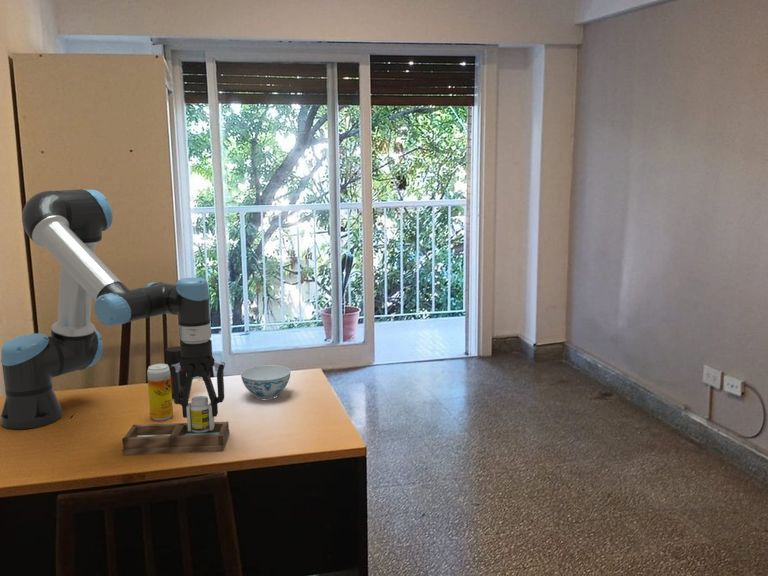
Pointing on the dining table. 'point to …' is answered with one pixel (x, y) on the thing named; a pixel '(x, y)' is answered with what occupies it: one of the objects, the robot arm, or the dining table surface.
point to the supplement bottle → (200, 414)
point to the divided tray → (173, 439)
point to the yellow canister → (160, 392)
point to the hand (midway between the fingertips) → (201, 428)
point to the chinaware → (266, 380)
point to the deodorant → (175, 358)
